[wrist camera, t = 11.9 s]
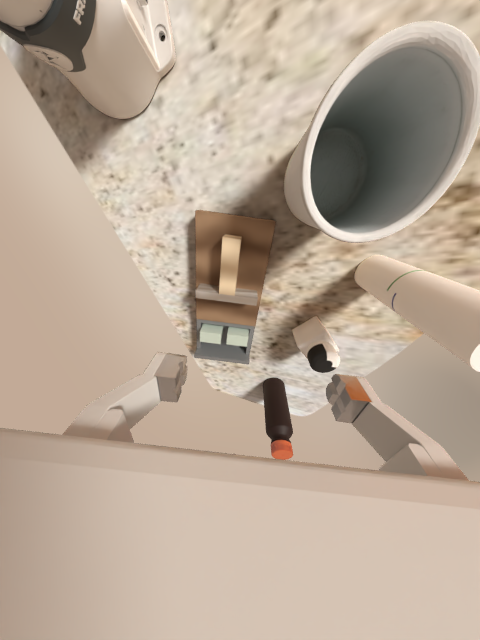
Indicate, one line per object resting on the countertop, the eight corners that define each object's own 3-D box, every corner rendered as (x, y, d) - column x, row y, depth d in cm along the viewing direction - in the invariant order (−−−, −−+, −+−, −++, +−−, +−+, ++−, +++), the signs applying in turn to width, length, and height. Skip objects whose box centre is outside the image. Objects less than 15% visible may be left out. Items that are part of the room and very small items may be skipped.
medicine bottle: (304, 346, 51) (318, 381, 41) (291, 329, 48) (302, 362, 38) (329, 333, 48) (350, 367, 38) (316, 314, 46) (335, 345, 35)
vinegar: (283, 391, 61) (295, 462, 44) (262, 391, 62) (267, 461, 45) (284, 377, 58) (299, 448, 41) (263, 377, 58) (268, 447, 41)
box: (200, 311, 47) (193, 324, 42) (254, 318, 47) (255, 332, 42) (199, 342, 52) (194, 357, 47) (248, 348, 52) (248, 364, 47)
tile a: (199, 331, 43) (199, 341, 44) (221, 334, 43) (220, 344, 44) (204, 320, 47) (204, 329, 49) (223, 322, 47) (223, 332, 49)
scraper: (200, 230, 33) (194, 233, 30) (266, 239, 33) (268, 243, 30) (200, 289, 39) (195, 297, 36) (255, 297, 39) (256, 305, 36)
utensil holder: (267, 216, 35) (280, 224, 20) (298, 105, 27) (356, -17, 12) (339, 236, 36) (401, 257, 21) (388, 135, 28) (540, 56, 14)
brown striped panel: (200, 210, 35) (195, 210, 32) (273, 220, 35) (275, 221, 32) (200, 310, 47) (196, 318, 43) (254, 317, 47) (255, 326, 43)
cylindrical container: (351, 289, 42) (456, 374, 20) (358, 256, 38) (495, 320, 17) (385, 286, 41) (531, 372, 20) (395, 252, 37) (588, 314, 16)
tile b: (227, 334, 43) (226, 344, 44) (248, 336, 43) (246, 346, 44) (229, 322, 47) (228, 332, 49) (248, 325, 47) (247, 334, 49)
